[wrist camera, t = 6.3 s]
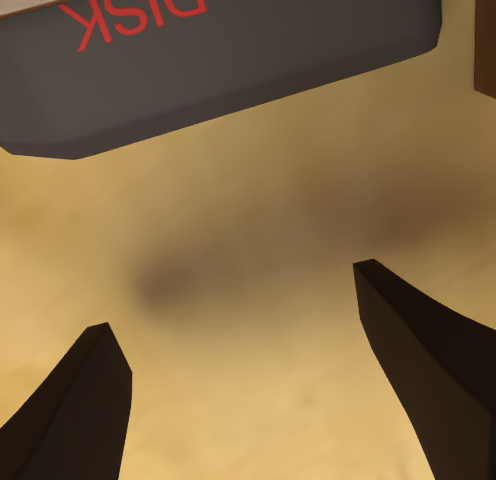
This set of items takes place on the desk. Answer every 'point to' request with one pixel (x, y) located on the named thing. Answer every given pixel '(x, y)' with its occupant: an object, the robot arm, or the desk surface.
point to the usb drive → (183, 63)
